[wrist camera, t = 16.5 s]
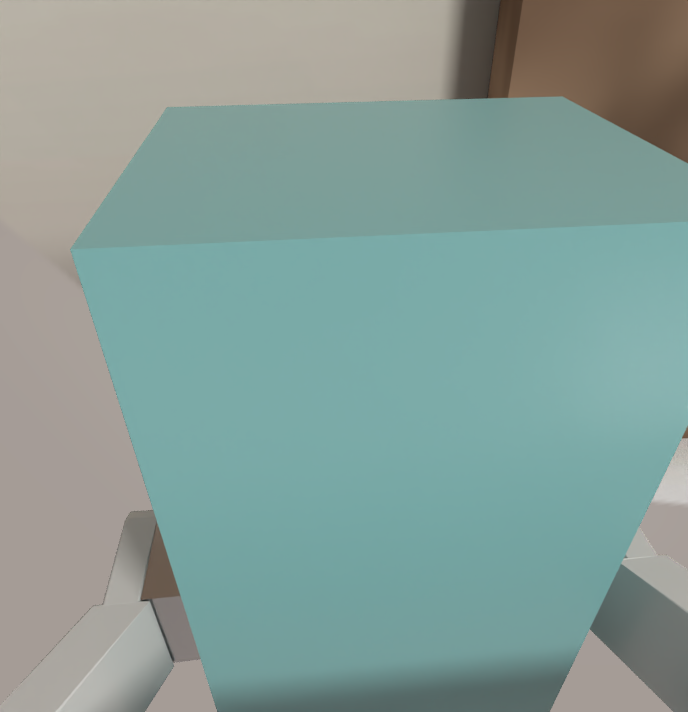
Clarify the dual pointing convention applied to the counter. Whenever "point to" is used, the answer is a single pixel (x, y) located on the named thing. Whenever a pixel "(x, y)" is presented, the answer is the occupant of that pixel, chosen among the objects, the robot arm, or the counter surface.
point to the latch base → (601, 62)
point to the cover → (394, 386)
